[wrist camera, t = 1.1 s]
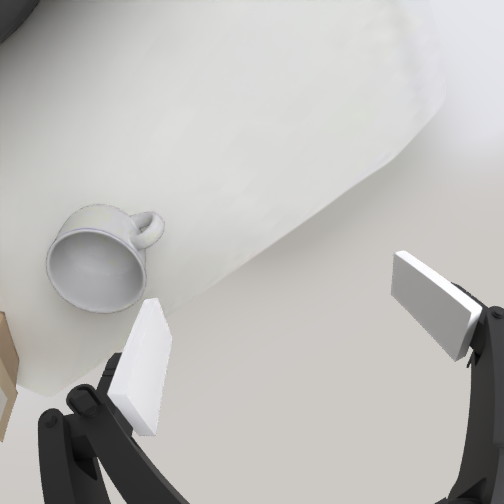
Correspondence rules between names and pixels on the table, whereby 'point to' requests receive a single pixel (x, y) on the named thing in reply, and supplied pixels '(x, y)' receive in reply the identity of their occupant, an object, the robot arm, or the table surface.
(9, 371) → the mailer box
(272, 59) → the table surface
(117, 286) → the teacup
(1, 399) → the lid
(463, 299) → the robot arm
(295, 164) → the table surface
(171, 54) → the table surface
